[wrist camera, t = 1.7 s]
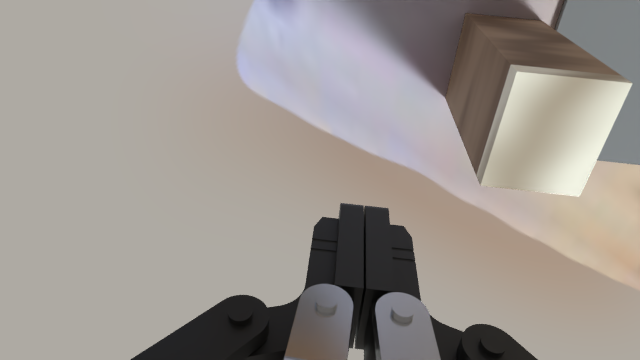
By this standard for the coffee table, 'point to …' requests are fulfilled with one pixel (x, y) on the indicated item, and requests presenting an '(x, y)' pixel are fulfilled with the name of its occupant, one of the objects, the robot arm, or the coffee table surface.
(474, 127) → the brown wooden block
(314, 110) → the coffee table surface
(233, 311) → the robot arm
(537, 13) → the coffee table surface
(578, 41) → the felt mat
